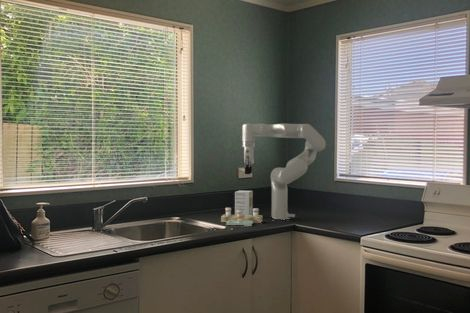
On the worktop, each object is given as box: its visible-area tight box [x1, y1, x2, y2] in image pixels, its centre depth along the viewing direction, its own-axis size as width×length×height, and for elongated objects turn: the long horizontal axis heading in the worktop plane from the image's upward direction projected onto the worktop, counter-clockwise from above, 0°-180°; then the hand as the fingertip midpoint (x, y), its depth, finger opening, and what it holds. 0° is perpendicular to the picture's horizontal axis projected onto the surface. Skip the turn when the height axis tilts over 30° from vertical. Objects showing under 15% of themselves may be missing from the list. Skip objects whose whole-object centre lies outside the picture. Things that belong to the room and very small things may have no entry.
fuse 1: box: [225, 207, 232, 216], centre depth 276 cm, size 3×3×8 cm
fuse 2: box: [253, 207, 260, 217], centre depth 273 cm, size 3×3×8 cm
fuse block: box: [220, 214, 264, 224], centre depth 275 cm, size 23×8×4 cm, turn 82°
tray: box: [225, 220, 254, 227], centre depth 265 cm, size 14×9×2 cm, turn 82°
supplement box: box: [234, 190, 254, 215], centre depth 292 cm, size 10×9×17 cm
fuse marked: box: [237, 210, 243, 223], centre depth 265 cm, size 3×3×8 cm
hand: (248, 173), depth 280 cm, fingers open, 9 cm apart
